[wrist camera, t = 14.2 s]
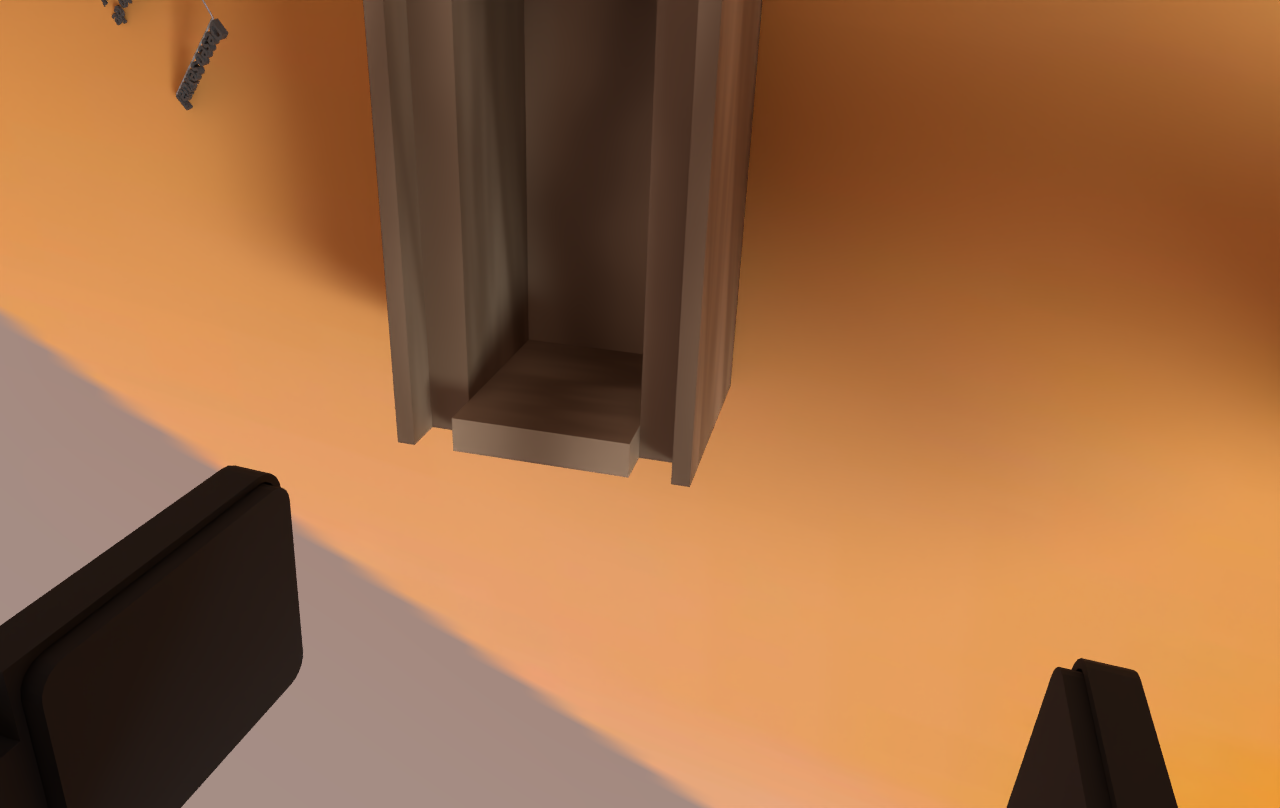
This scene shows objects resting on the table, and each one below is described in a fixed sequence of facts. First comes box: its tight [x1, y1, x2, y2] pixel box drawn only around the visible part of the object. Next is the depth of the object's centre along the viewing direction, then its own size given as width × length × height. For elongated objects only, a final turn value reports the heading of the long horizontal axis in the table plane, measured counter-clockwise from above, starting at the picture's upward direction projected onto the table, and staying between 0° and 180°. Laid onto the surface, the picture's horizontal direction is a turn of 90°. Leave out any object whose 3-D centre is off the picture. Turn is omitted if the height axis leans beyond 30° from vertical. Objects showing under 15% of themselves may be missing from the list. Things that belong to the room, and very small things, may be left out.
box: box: [363, 0, 762, 487], centre depth 32 cm, size 10×16×8 cm, turn 178°
